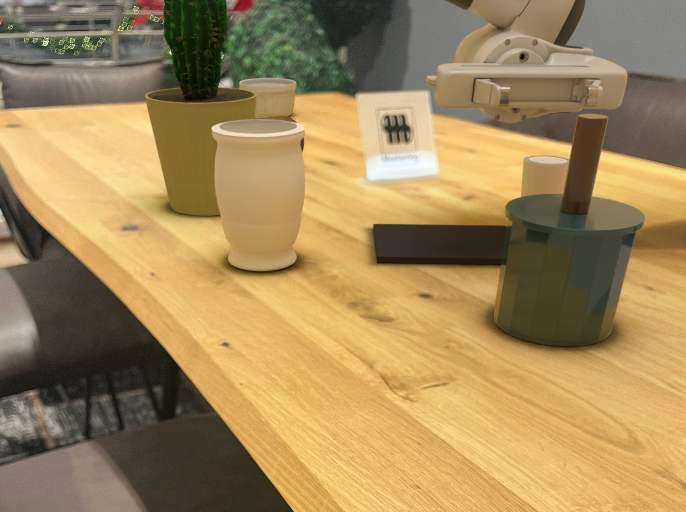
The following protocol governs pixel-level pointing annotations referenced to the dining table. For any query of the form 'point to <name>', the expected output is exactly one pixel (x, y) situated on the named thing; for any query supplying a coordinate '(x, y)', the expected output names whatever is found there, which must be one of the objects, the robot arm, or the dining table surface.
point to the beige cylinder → (543, 175)
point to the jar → (260, 190)
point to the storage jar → (560, 286)
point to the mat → (439, 243)
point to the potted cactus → (194, 104)
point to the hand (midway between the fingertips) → (549, 97)
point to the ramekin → (271, 95)
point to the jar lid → (578, 194)
